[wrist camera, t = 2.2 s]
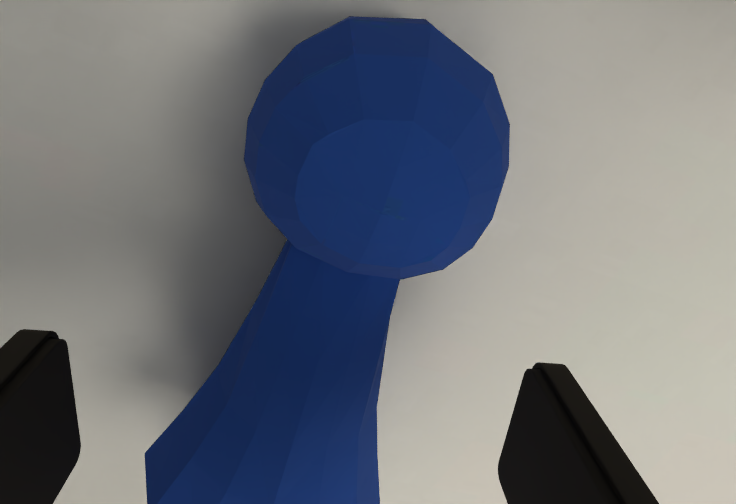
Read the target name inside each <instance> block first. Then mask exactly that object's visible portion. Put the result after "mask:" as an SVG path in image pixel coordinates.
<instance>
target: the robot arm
mask: <svg viewBox="0 0 736 504" xmlns="http://www.w3.org/2000/svg"><path fill="white" fill-rule="evenodd" d="M80 448H81V443H80V435H79V428H78V420H77V413H76V405H75V398H74V390H73V383H72V375H71V368H70V361H69V353H68V346H67V343H66V341H65V340H63V339H59V337H58V335H57V333H56V332H54V331H42V330H27V329H23V330H20V331H18V332H17V333H16V334H15V335H14V336H13V337H12V338H11V339H10V340H9V341H7V342H6V343H5V344H4V345H3V346H2V347H1V348H0V504H53V502H54V501H55V499H56V497H57V495H58V494H59V492H60V490H61V489H62V487H63V485H64V484H65V482H66V480H67V478H68V477H69V475H70V473H71V472H72V470H73V468H74V466H75V465H76V463H77V461H78V458H79V454H80ZM498 475H499V480H500V483H501V486H502V489H503V492H504V494H505V497H506V500H507V503H508V504H659V503H658V501H657V500H656V498H655V497H654V495H653V494H652V492H651V491H650V490H649V488H648V487H647V485H646V484H645V482H644V481H643V479H642V478H641V476H640V475H639V473H638V472H637V470H636V469H635V467H634V466H633V464H632V463H631V461H630V460H629V458H628V457H627V455H626V454H625V452H624V451H623V449H622V448H621V447H620V445H619V444H618V442H617V441H616V439H615V438H614V436H613V435H612V433H611V432H610V430H609V429H608V427H607V426H606V424H605V423H604V421H603V420H602V418H601V417H600V415H599V414H598V412H597V411H596V409H595V408H594V406H593V405H592V403H591V402H590V401H589V399H588V398H587V396H586V395H585V393H584V392H583V390H582V389H581V387H580V386H579V384H578V383H577V381H576V380H575V378H574V377H573V375H572V374H571V372H570V371H569V369H568V368H567V367H566V366H565V365H563V364H553V363H536V364H535V365H534V366H533V368H532V369H527V370H526V371H525V373H524V376H523V380H522V383H521V387H520V390H519V394H518V397H517V401H516V404H515V407H514V411H513V414H512V418H511V421H510V425H509V428H508V432H507V435H506V439H505V442H504V446H503V449H502V453H501V456H500V460H499V464H498Z"/></svg>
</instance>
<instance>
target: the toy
mask: <svg viewBox="0 0 736 504" xmlns="http://www.w3.org/2000/svg"><path fill="white" fill-rule="evenodd" d="M509 132H510V124H509V121H508V118H507V115H506V112H505V109H504V106H503V103H502V100H501V97H500V94H499V91H498V88H497V85H496V83H495V80H494V77H493V74H492V73H490V72H489V71H488V70H487V69H485V68H484V67H483V66H482V65H481V64H479V63H478V62H477V61H476V60H474V59H473V58H472V57H471V56H469V55H468V54H467V53H466V52H465V51H463V50H462V49H461V48H460V47H458V46H457V45H456V44H455V43H453V42H452V41H451V40H450V39H448V38H447V37H446V36H445V35H444V34H442V33H441V32H440V31H439V30H437V29H436V28H435V27H434V26H433V25H432V24H430V23H429V22H428V21H427V20H426V19H405V18H379V17H354V16H349V17H348V18H346V19H344V20H342V21H340V22H338V23H336V24H334V25H332V26H330V27H329V28H327V29H325V30H323V31H321V32H319V33H317V34H315V35H313V36H312V37H310V38H308V39H306V40H304V41H302V42H301V43H299V44H298V45H296V46H295V47H294V48H293V49H292V51H291V52H290V53H289V54H288V55H287V56H286V57H285V58H284V59H283V61H282V62H281V63H280V64H279V65H278V66H277V67H276V68H275V69H274V70H273V72H272V73H271V74H270V75H269V76H268V77H267V78H266V79H265V81H264V83H263V85H262V88H261V90H260V92H259V94H258V97H257V99H256V101H255V103H254V106H253V108H252V110H251V113H250V115H249V117H248V122H247V132H246V143H245V154H244V162H245V165H246V168H247V172H248V175H249V178H250V182H251V185H252V189H253V192H254V195H255V199H256V202H257V203H258V205H259V206H260V208H261V209H262V210H263V212H264V213H265V215H266V216H267V217H268V218H269V219H270V220H271V222H272V223H273V224H274V225H275V226H276V227H277V228H278V229H279V230H280V231H281V232H282V234H283V235H284V236H285V237H286V238H287V241H286V243H285V245H284V247H283V249H282V251H281V253H280V255H279V257H278V259H277V261H276V262H275V264H274V266H273V268H272V270H271V272H270V274H269V276H268V278H267V280H266V282H265V284H264V286H263V288H262V290H261V292H260V294H259V296H258V298H257V300H256V301H255V303H254V305H253V307H252V308H251V310H250V312H249V313H248V315H247V317H246V319H245V320H244V322H243V324H242V325H241V327H240V329H239V330H238V332H237V334H236V336H235V337H234V339H233V341H232V342H231V344H230V346H229V348H228V349H227V351H226V353H225V354H224V356H223V358H222V360H221V361H220V363H219V365H218V366H217V367H216V369H215V370H214V371H213V373H212V374H211V375H210V376H209V378H208V379H207V380H206V381H205V383H204V384H203V385H202V387H201V388H200V389H199V390H198V392H197V393H196V394H195V395H194V397H193V398H192V399H191V401H190V402H189V403H188V404H187V406H186V407H185V408H184V410H183V411H182V412H181V413H180V414H179V415H178V416H177V418H176V419H175V420H174V421H173V422H172V423H171V424H170V425H169V427H168V428H167V429H166V430H165V431H164V432H163V433H162V435H161V436H160V437H159V438H158V439H157V440H156V441H155V442H154V444H153V445H152V446H151V447H150V448H149V449H148V450H147V451H146V453H145V468H146V487H147V504H380V497H379V478H378V459H377V401H378V394H379V388H380V381H381V374H382V367H383V360H384V353H385V346H386V339H387V333H388V326H389V320H390V314H391V311H392V307H393V303H394V299H395V296H396V292H397V288H398V284H399V281H400V279H405V278H409V277H413V276H418V275H422V274H426V273H430V272H435V271H439V270H443V269H444V268H446V267H447V266H448V265H450V264H451V263H452V262H454V261H455V260H457V259H458V258H459V257H461V256H462V255H463V254H465V253H466V252H467V251H469V250H470V249H472V248H473V246H474V245H475V243H476V242H477V241H478V239H479V238H480V236H481V235H482V233H483V232H484V230H485V229H486V227H487V226H488V224H489V223H490V221H491V220H492V218H493V215H494V211H495V208H496V205H497V202H498V199H499V196H500V193H501V189H502V186H503V183H504V180H505V177H506V174H507V170H508V167H509Z"/></svg>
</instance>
